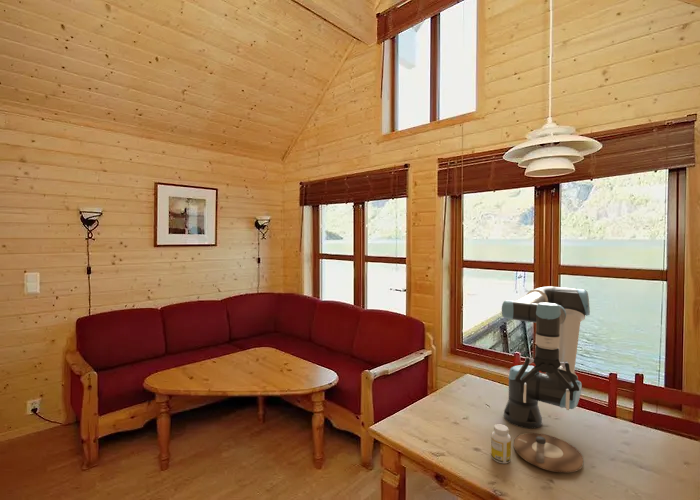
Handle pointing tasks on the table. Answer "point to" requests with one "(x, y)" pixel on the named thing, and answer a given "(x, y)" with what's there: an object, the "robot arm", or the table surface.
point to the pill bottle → (501, 444)
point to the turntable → (548, 452)
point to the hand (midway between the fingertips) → (545, 404)
